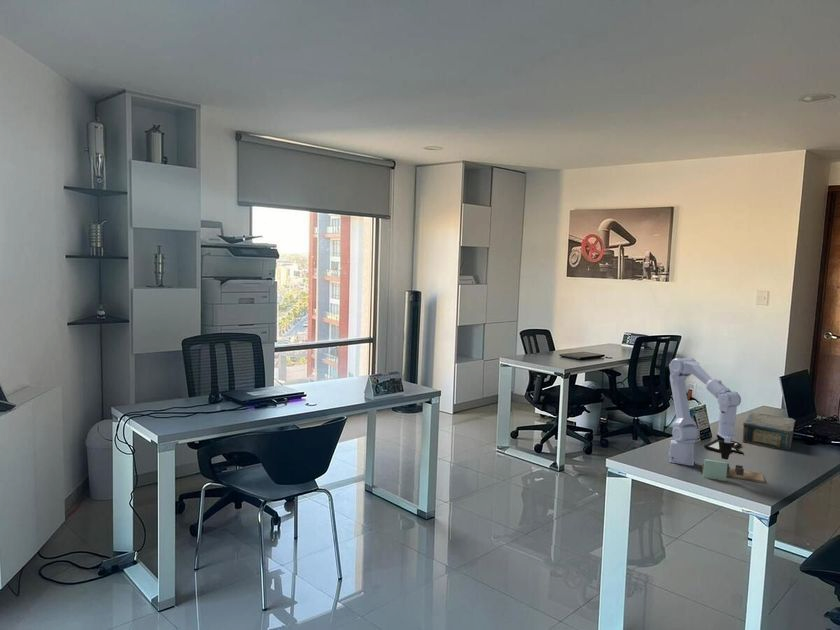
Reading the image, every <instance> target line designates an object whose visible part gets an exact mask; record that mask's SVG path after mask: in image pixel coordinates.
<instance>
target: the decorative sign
mask: <svg viewBox="0 0 840 630" xmlns="http://www.w3.org/2000/svg"><path fill="white" fill-rule="evenodd" d="M730 442H732V443H735V445H734V446H733V448H732V450H731V452H730V453H733V452H734V454H737V453H738V455H741V454H742V455H741V456H743V455H744V454H745V453H744V452H743V451H742V450H740V449H738V448H740V446H741V447H742V445H743V444H742V443H740V442H739V441H734V440H731V441H730ZM703 447H704V448H705V449H706V450H709V451H713V452H716V453H719V454H720V451H719V442H718V438H716V439H715V440H713V441H711V442H707V443H706V444H704V446H703Z"/></svg>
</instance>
